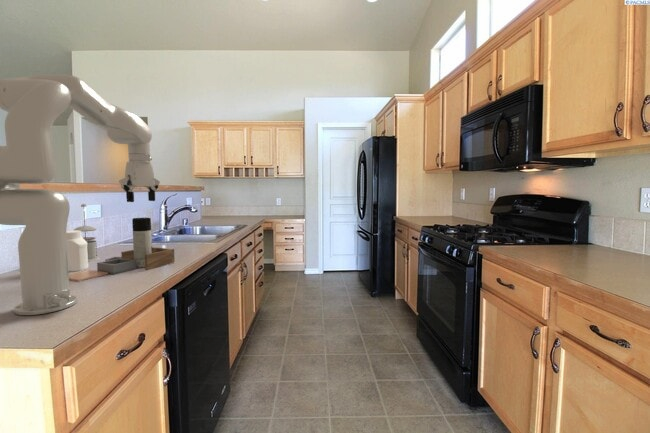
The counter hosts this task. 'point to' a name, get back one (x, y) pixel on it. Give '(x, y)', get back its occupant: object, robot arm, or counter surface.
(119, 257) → the crook
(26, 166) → the robot arm
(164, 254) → the cubby
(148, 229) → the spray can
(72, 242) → the jar
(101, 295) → the counter surface
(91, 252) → the french press
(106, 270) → the bin
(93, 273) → the pad
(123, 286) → the counter surface
